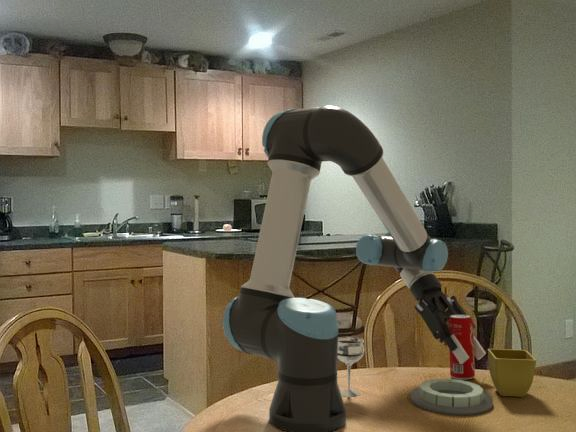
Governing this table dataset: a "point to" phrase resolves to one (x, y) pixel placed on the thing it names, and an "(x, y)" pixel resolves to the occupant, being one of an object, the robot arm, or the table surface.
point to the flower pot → (511, 371)
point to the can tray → (451, 409)
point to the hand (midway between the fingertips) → (473, 358)
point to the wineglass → (350, 358)
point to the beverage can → (464, 334)
